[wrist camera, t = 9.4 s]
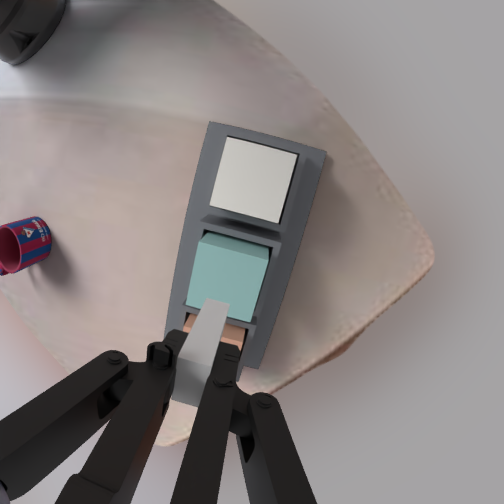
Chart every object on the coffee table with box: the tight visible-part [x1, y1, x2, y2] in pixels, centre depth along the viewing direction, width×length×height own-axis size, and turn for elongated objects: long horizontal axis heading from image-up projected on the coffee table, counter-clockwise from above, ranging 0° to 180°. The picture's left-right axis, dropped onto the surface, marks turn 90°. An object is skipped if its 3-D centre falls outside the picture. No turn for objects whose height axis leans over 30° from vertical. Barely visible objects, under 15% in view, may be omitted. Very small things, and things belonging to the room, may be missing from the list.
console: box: [164, 121, 326, 382], centre depth 31 cm, size 28×13×6 cm, turn 165°
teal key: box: [186, 230, 269, 322], centre depth 28 cm, size 6×6×5 cm
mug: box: [0, 217, 51, 276], centre depth 32 cm, size 7×10×7 cm
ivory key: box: [210, 137, 297, 223], centre depth 27 cm, size 6×6×5 cm
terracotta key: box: [183, 313, 245, 351], centre depth 31 cm, size 6×6×5 cm
